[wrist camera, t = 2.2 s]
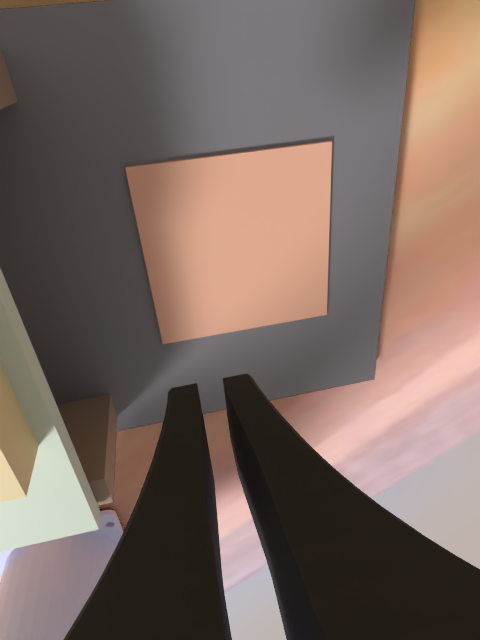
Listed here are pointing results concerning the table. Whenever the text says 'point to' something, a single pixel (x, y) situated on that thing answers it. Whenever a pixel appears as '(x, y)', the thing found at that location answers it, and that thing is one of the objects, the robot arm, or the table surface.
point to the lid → (35, 448)
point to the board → (197, 198)
